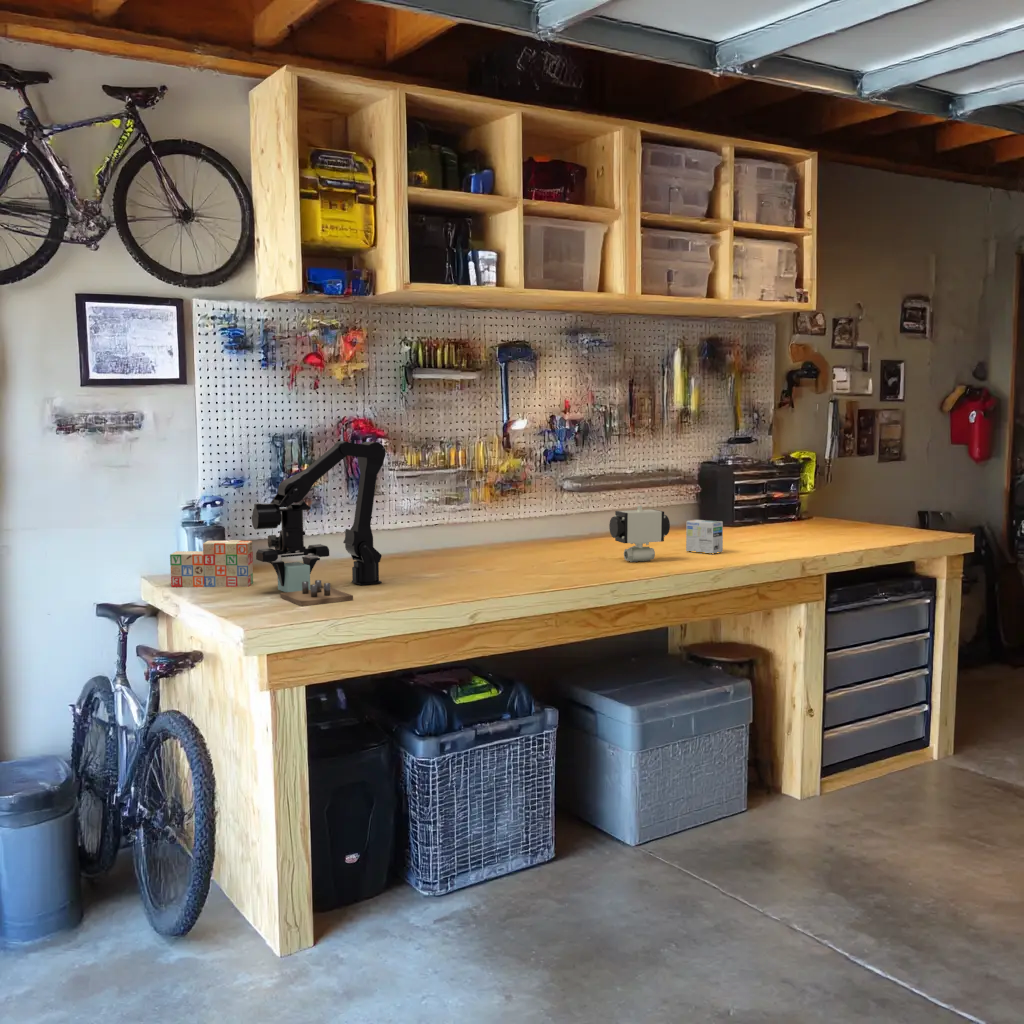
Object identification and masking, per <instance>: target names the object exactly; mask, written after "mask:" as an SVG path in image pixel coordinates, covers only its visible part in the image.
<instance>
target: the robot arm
mask: <svg viewBox="0 0 1024 1024" xmlns="http://www.w3.org/2000/svg"><path fill="white" fill-rule="evenodd" d="M386 454H387V453H386V448H385V447H384V445H383V444H382V443H380V442H377V441H363V442H362V443H355V442H349V441H345V440H339V441H336V442H335V444H334V445H333V446H332V447H331V448H329V449H328V450H327V451H326V452H325V453H323V454H322V455H321V456H319V457H318V458H317V459H316V460H314V462H312V463H311V464H309V466H308V467H306V468H305V469H304V470H302V471H301V472H298V473H297V474H294V475H291V476H290V477H288V478H286V479H285V480H282V481H281V482H280V483H279V485H278V489H277V493H276V494H275V496H274V498H273V499H272V500H271V502H270V503H254V505H253V510H252V514H251V524H252V527H253V529H254V530H256V531H257V530H270V529H277V528H278V526H281V529H280V530H279V536H277V535H276V534H271V535H268V536H267V546H268V547H267V548H258V549H257V551H256V553H255V558H256V559H255V560H257V561H259V562H262V563H268V564H271V565H272V567H273V570H274V571H275V573H276V576H277V579H278V578H279V581H280V583H281V586H284V582H285V575H284V563H285V561H283V560H282V558H288V557H290V558H291V557H299V556H301V560H302V563H303V564H306V565H310V575H311V573H312V571H313V569H314V567H315V565H316V564H317V562H319V561H320V560H321V558H325V557H330V549H329V547H328V545H324V544H321V543H320V544H308V547H307V548H306V545H305V542H304V540H305V539H304V537H305V535H306V531H305V530H304V511H310V510H311V509H312V507H311V506H309V505H308V504H307V503H306V501H304V499H305V497H306V496H307V495H308V494H309V492H310V491H311V490H312V488H313V485H315V483H316V482H317V481H318V480H319V479H321V478H322V477H323V476H324V475H326V474H327V473H328V472H329V471H331V470H332V469H333V468H334V467H335V466H336V465H337V464H339V463H340V462H342V460H343V459H345V458H346V457H348V456H350V457H354V458H356V457H357V464H358V465H357V466H358V469H359V482H358V489H357V490H358V491H357V497H356V505H355V510H354V520H353V524H352V525H351V528H350V529H349V528H346V529H345V531H344V534H345V535H344V536H345V537H344V540H343V544H345V545H344V546H345V550H346V552H347V553H348V554H349V555H351V559H352V560H353V566H352V569H351V571H352V572H351V573H352V574H351V575H352V576H351V577H352V580H351V583H353V584H356V585H359V586H366V585H368V586H369V585H375V584H381V583H382V580H380V568H379V567H380V562H381V559H382V554H381V553H380V552H379V551H378V550H377V549H376V548H375V547H374V536H373V531H372V526H371V525H372V523H371V522H372V516H373V508H374V500H375V494H376V493H375V492H376V485H377V478H378V474H379V472H380V471H381V470H382V467H383V464H384V463H385V462H384V461H385V458H386Z"/></svg>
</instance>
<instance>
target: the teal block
mask: <svg viewBox="0 0 1024 1024" xmlns="http://www.w3.org/2000/svg"><path fill="white" fill-rule="evenodd" d="M284 575H285V582H284V586H281V583H280V581H279V578H278V577H277V589H278V591H281V592H282V593H286V592H295V591H302V582H304V581H308V587H309V590H311V574H310V565H306V564H304V563H303V562H300V561H294V562H284Z"/></svg>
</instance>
